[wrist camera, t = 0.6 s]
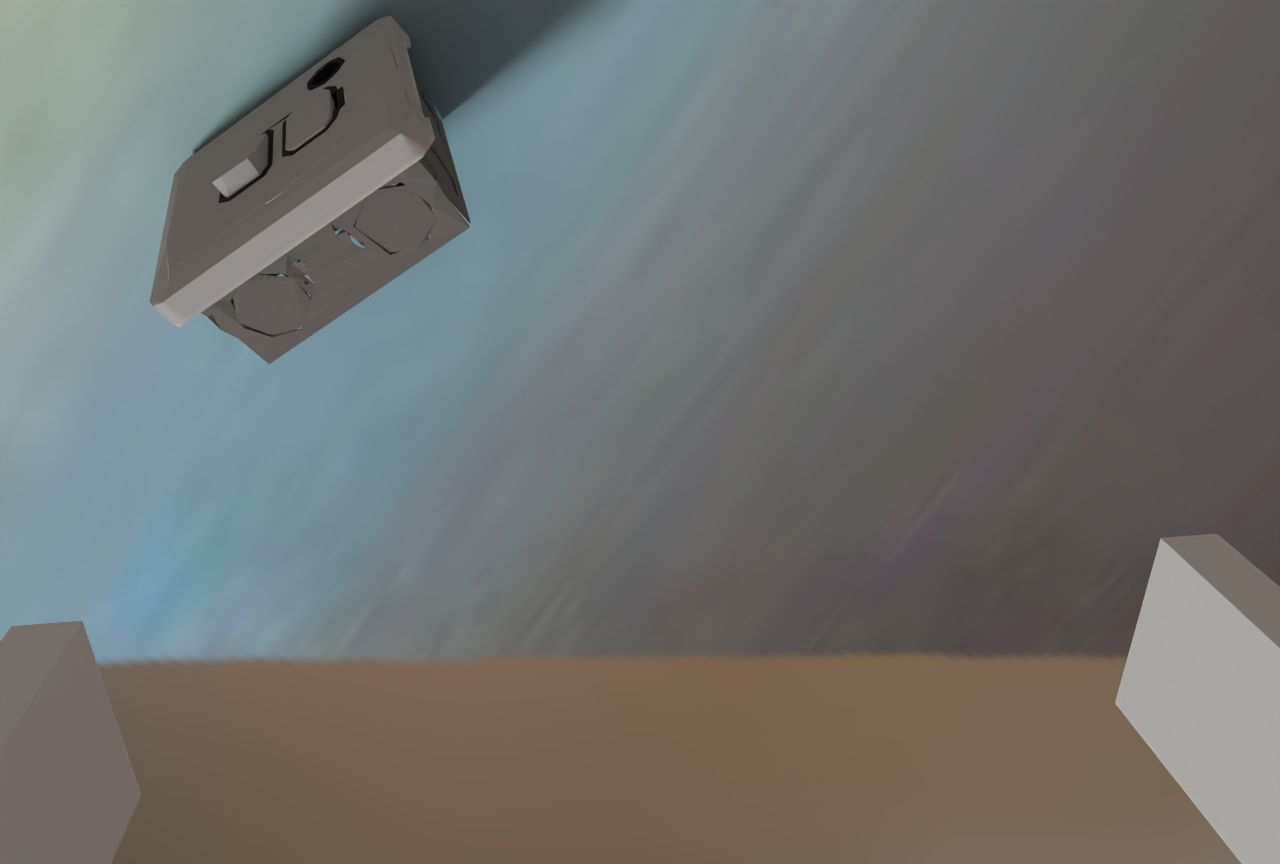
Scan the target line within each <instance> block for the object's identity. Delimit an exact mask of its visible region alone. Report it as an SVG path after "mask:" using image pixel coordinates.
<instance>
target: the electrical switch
mask: <svg viewBox="0 0 1280 864" xmlns="http://www.w3.org/2000/svg"><path fill="white" fill-rule="evenodd" d="M408 48H411V44H410V39H409V36H408V35H407V34H406V33H405V32H404V30H403V29H402V28H401V27H400V26H399V25H398V23H397V22H396V21H395V20H394V19H393V17H392V16H387V17H384V18H380V19H377V20H375V21H374V22H373V23H371V24H370V25H368V26H367V27H366V28H364V29H363V30H362V31H360V32H359V33H357V34H356V35H355V36H353V37H352V38H351V39H349V40H348V41H347V42H345V43H344V44H343V45H341V46H340V47H338V48H337V49H336V50H334V51H333V52H332V53H330V54H329V55H328V56H326V57H325V58H324V59H322V60H321V61H319V62H318V63H317V64H315V65H314V66H313V67H311V68H310V69H309V70H307V71H306V72H305V73H303V74H302V75H300V76H299V77H298V78H296V79H295V80H294V81H292V82H291V83H290V84H288V85H287V86H286V87H284V88H283V89H282V90H280V91H279V92H277V93H276V94H275V95H273V96H272V97H271V98H269V99H268V100H267V101H265V102H264V103H263V104H261V105H260V106H258V107H257V108H256V109H254V110H253V111H252V112H250V113H249V114H248V115H246V116H245V117H244V118H242V119H241V120H239V121H238V122H237V123H235V124H234V125H233V126H231V127H230V128H229V129H227V130H226V131H225V132H223V133H222V134H220V135H219V136H218V137H216V138H215V139H214V140H212V141H211V142H210V143H208V144H207V145H206V146H204V147H203V148H201V149H200V150H199V151H197V152H196V153H195V154H193V155H192V156H191V157H190V158H189V159H187V160H186V161H185V162H184V163H183V164H182V165H181V167H180V168H179V169H178V171H177V172H176V173H175V174H174V179H173V184H172V189H171V194H170V199H169V204H168V210H167V215H166V220H165V225H164V230H163V236H162V241H161V246H160V251H159V256H158V262H157V267H156V272H155V277H154V283H153V288H152V293H151V298H150V303H151V304H152V306H153V307H154V308H155V309H156V310H157V311H159V312H160V313H161V314H162V315H163V316H164V317H165V318H166V319H168V320H169V321H170V322H171V323H172V324H174V325H176V326H177V327H179V328H180V327H181V326H182V325H184V324H185V323H187V322H188V321H190V320H191V319H192V318H194V317H195V316H197V315H198V314H200V313H202V314H204V315H205V316H207V317H208V318H209V319H210V320H211V321H212V322H214V323H215V324H216V325H217V326H218V327H219V328H220V329H221V330H222V331H224V332H226V333H228V334H230V335H232V336H235V337H237V338H239V339H240V340H241V341H242V342H243V343H245V344H246V345H247V346H248V347H249V348H251V349H252V350H253V351H254V352H255V353H257V354H258V355H259V356H260V357H261V358H263V359H264V360H265V361H266V362H267V363H268V364H270V363H272V362H273V361H274V360H276V359H277V358H279V357H280V356H282V355H283V354H285V353H286V352H288V351H289V350H291V349H292V348H293V347H295V346H296V345H298V344H299V343H301V342H302V341H304V340H305V339H307V338H308V337H310V336H311V335H313V334H314V333H315V332H317V331H318V330H320V329H321V328H323V327H324V326H326V325H327V324H329V323H330V322H332V321H333V320H334V319H336V318H337V317H339V316H340V315H342V314H343V313H345V312H346V311H348V310H349V309H351V308H352V307H354V306H355V305H356V304H358V303H359V302H361V301H362V300H364V299H365V298H367V297H368V296H370V295H371V294H373V293H374V292H375V291H377V290H378V289H380V288H381V287H383V286H384V285H386V284H387V283H389V282H390V281H392V280H393V279H395V278H396V277H397V276H399V275H400V274H402V273H403V272H405V271H406V270H408V269H409V268H411V267H412V266H414V265H415V264H417V263H418V262H419V261H421V260H422V259H424V258H425V257H427V256H428V255H430V254H431V253H433V252H434V251H436V250H437V249H438V248H440V247H441V246H443V245H444V244H446V243H447V242H449V241H450V240H452V239H453V238H455V237H456V236H458V235H459V234H460V233H462V232H463V231H465V230H466V229H468V228H469V225H468V224H467V222H466V221H465V220H464V219H463V218H462V216H461V215H460V214H459V213H458V211H459V212H460V213H461V214H462V215H463V216H464V217H465V218H466V219H467V220H468V221H469V223H470V219H469V216H468V212H467V209H466V205H465V202H464V198H463V195H462V191H461V188H460V184H459V181H458V177H457V174H456V170H455V167H454V163H453V160H452V156H451V152H450V149H449V145H448V142H447V138H446V135H445V131H444V128H443V124H442V121H441V120H440V118H439V117H438V116H437V115H436V114H435V112H434V111H433V110H432V109H431V107H430V106H429V105H428V104H427V102H426V101H425V100H424V98H423V97H422V95H421V94H423V93H424V92H423V91H422V89H421V88H420V87H419V86H418V85H417V84H416V83H415V79H414V75H413V71H412V67H411V63H410V59H409V55H408V51H407V49H408ZM439 133H440V134H439ZM446 197H447V198H446ZM450 202H451V203H452V204H453V205H454V206H455V207H456V208H457V209H458V211H457V210H456V209H455V208H454V206H453V205H452V204H451V203H450ZM470 224H471V223H470ZM339 229H342V230H341V231H339V233H338V234H337V235H335V232H334V231H336V230H339ZM430 233H431V238H429V236H430ZM350 235H351V236H352V237H354V238H355V239H356V240H357V241H358V242H359V243H360V244H361V245H363V246H364V247H365V248H366V249H364V248H362V247H359V246H356V245H355V244H353V242H352V240H351V238H350V237H349V236H350ZM428 238H429V239H428ZM298 259H299V260H298ZM297 260H298V261H297ZM296 261H297V262H296ZM295 262H296V263H295ZM294 263H295V264H294ZM279 274H283V275H285V276H286V277H283V276H277V275H279ZM304 275H309V277H310V278H311V280H312V281H313V283H314V284H313V283H312V282H311V281H310V280H309V279H307V278H306V277H305V276H304ZM307 293H308V294H309V295H310V296H311V297H309V295H308V294H307ZM300 327H302V329H297V328H300ZM294 329H296V330H294Z"/></svg>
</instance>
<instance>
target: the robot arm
mask: <svg viewBox="0 0 1280 864" xmlns="http://www.w3.org/2000/svg"><path fill="white" fill-rule="evenodd" d="M1115 704H1116V705H1117V706H1118V707H1119V709H1120V710H1121V711H1122V713H1123V714H1124V715H1125V716H1126V718H1127V719H1128V720H1129V721H1130V723H1131V724H1132V725H1133V726H1134V728H1135V729H1136V730H1137V732H1138V733H1139V734H1140V735H1141V737H1142V738H1143V739H1144V740H1145V742H1146V743H1147V744H1148V745H1149V747H1150V748H1151V749H1152V751H1153V752H1154V753H1155V754H1156V756H1157V757H1158V758H1159V759H1160V761H1161V762H1162V763H1163V764H1164V766H1165V767H1166V768H1167V770H1168V771H1169V772H1170V773H1171V775H1172V776H1173V777H1174V778H1175V780H1176V781H1177V782H1178V784H1179V785H1180V786H1181V787H1182V789H1183V790H1184V791H1185V793H1186V794H1187V795H1188V796H1189V798H1190V799H1191V800H1192V801H1193V803H1194V804H1195V805H1196V806H1197V808H1198V809H1199V810H1200V811H1201V813H1202V814H1203V815H1204V817H1205V818H1206V819H1207V820H1208V822H1209V823H1210V824H1211V826H1212V827H1213V828H1214V829H1215V831H1216V832H1217V833H1218V834H1219V836H1220V837H1221V838H1222V839H1223V841H1224V842H1225V843H1226V844H1227V846H1228V847H1229V848H1230V850H1231V851H1232V852H1233V853H1234V855H1235V856H1236V857H1237V859H1238V860H1239V861H1240V862H1241V863H1242V864H1280V587H1279V586H1278V585H1277V584H1276V583H1274V582H1273V581H1272V580H1271V579H1270V578H1268V577H1267V576H1266V575H1265V574H1264V573H1263V572H1261V571H1260V570H1259V569H1258V568H1257V567H1255V566H1254V565H1253V564H1252V563H1251V562H1250V561H1248V560H1247V559H1246V558H1245V557H1244V556H1242V555H1241V554H1240V553H1239V552H1238V551H1237V550H1235V549H1234V548H1233V547H1232V546H1231V545H1229V544H1228V543H1227V542H1226V541H1225V540H1224V539H1222V538H1221V537H1220V536H1219V535H1218V534H1208V535H1195V536H1182V537H1169V538H1161V539H1160V543H1159V546H1158V550H1157V554H1156V557H1155V561H1154V564H1153V568H1152V572H1151V575H1150V579H1149V582H1148V586H1147V590H1146V593H1145V597H1144V600H1143V604H1142V608H1141V611H1140V615H1139V618H1138V622H1137V626H1136V629H1135V633H1134V636H1133V640H1132V644H1131V647H1130V651H1129V654H1128V658H1127V662H1126V666H1125V669H1124V673H1123V676H1122V680H1121V683H1120V687H1119V691H1118V694H1117V698H1116V701H1115ZM140 796H141V793H140V790H139V787H138V784H137V781H136V778H135V775H134V773H133V769H132V767H131V764H130V761H129V758H128V755H127V752H126V749H125V746H124V743H123V740H122V737H121V734H120V731H119V728H118V725H117V722H116V719H115V716H114V713H113V710H112V707H111V704H110V701H109V698H108V695H107V692H106V689H105V686H104V684H103V681H102V678H101V675H100V672H99V669H98V666H97V663H96V660H95V657H94V654H93V651H92V648H91V645H90V642H89V639H88V636H87V633H86V630H85V627H84V624H83V621H74V622H61V623H48V624H35V625H22V626H12V627H11V628H10V629H9V631H8V632H7V633H6V635H5V636H4V637H3V639H2V640H1V642H0V864H111V863H112V860H113V858H114V855H115V853H116V851H117V849H118V846H119V844H120V842H121V840H122V837H123V835H124V833H125V830H126V828H127V826H128V823H129V821H130V819H131V817H132V814H133V812H134V809H135V807H136V805H137V803H138V800H139V798H140Z"/></svg>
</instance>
